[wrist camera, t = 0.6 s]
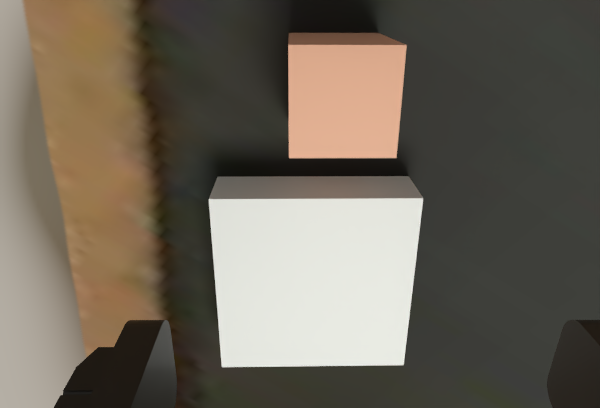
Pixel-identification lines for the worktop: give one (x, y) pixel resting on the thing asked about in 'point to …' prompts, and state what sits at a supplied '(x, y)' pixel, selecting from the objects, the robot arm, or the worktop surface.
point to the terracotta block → (344, 95)
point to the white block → (314, 268)
